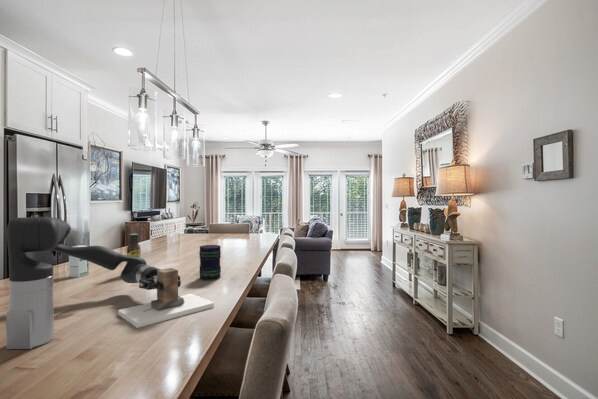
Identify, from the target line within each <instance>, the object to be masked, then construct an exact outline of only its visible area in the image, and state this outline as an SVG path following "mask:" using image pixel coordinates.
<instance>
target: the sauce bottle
mask: <svg viewBox="0 0 598 399" xmlns="http://www.w3.org/2000/svg"><path fill="white" fill-rule="evenodd" d="M139 236H140V235H139V233H130V234H129V244H128V246H127V247H126V255H127V256H134V257H140V258H141V246H140V244H139ZM125 263H126V264H127V262H125ZM126 264H125V265H126Z"/></svg>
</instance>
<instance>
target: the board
mask: <svg viewBox="0 0 598 399" xmlns="http://www.w3.org/2000/svg"><path fill="white" fill-rule="evenodd" d="M179 296H180V297H182V298H184V304H182V305H178V306H174V307H170V308H166V309H162V310H156V309H154V308H152V307H151V302H148V303H144V304H139V305H136V306H129V307H127V308H126V307H125V308H121V309H118V310H117V311H118V313H117V314H118V316H119V317H121V318H122V319H124V320H125V321H127V323H129V324H130V325H132V326H134V328H137V329H138V328H142V327H146V326H149V325H152V324H156V323H157V324H158V323H161V322H164V321H167V320H168V321H169V320H172V319H175V318H179V317H182V316H186V315H189V314H194V313H198V312H201V311H205V310H208V309H213V308H214V307H215V302H213V301H211V300H208V299H206V298H203V297H202V296H198V295H196V294H194V293H188V294H184V295H179Z"/></svg>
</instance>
